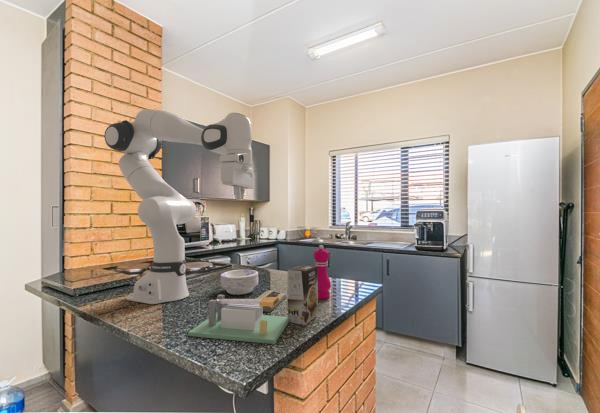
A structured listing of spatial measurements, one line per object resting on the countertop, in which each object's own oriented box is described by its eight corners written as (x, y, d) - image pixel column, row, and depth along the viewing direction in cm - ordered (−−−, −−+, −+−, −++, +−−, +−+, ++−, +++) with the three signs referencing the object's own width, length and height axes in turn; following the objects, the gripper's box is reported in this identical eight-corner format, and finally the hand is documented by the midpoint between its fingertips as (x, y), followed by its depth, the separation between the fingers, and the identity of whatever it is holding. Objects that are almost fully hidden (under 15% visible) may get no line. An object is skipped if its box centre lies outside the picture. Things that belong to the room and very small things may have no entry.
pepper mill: (309, 298, 110) (309, 245, 110) (315, 293, 116) (315, 243, 117) (327, 300, 107) (327, 246, 107) (333, 295, 114) (332, 244, 114)
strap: (210, 306, 82) (210, 301, 82) (219, 300, 87) (219, 296, 87) (273, 306, 78) (273, 302, 78) (278, 300, 83) (278, 296, 83)
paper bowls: (213, 292, 118) (213, 273, 118) (242, 285, 130) (242, 267, 130) (236, 300, 108) (236, 278, 108) (266, 291, 120) (265, 272, 120)
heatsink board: (188, 335, 77) (188, 305, 77) (217, 314, 93) (217, 289, 93) (274, 344, 72) (274, 311, 72) (290, 320, 88) (290, 293, 88)
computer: (271, 313, 95) (271, 303, 95) (248, 311, 97) (248, 301, 97) (286, 299, 110) (286, 290, 110) (266, 297, 112) (266, 289, 112)
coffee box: (306, 326, 84) (305, 271, 84) (286, 322, 87) (286, 269, 87) (318, 316, 92) (318, 265, 92) (301, 313, 95) (300, 264, 95)
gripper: (242, 165, 111) (243, 201, 111) (216, 155, 91) (216, 199, 91) (258, 164, 110) (258, 200, 110) (235, 154, 90) (235, 198, 90)
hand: (239, 200), depth 100 cm, fingers closed
